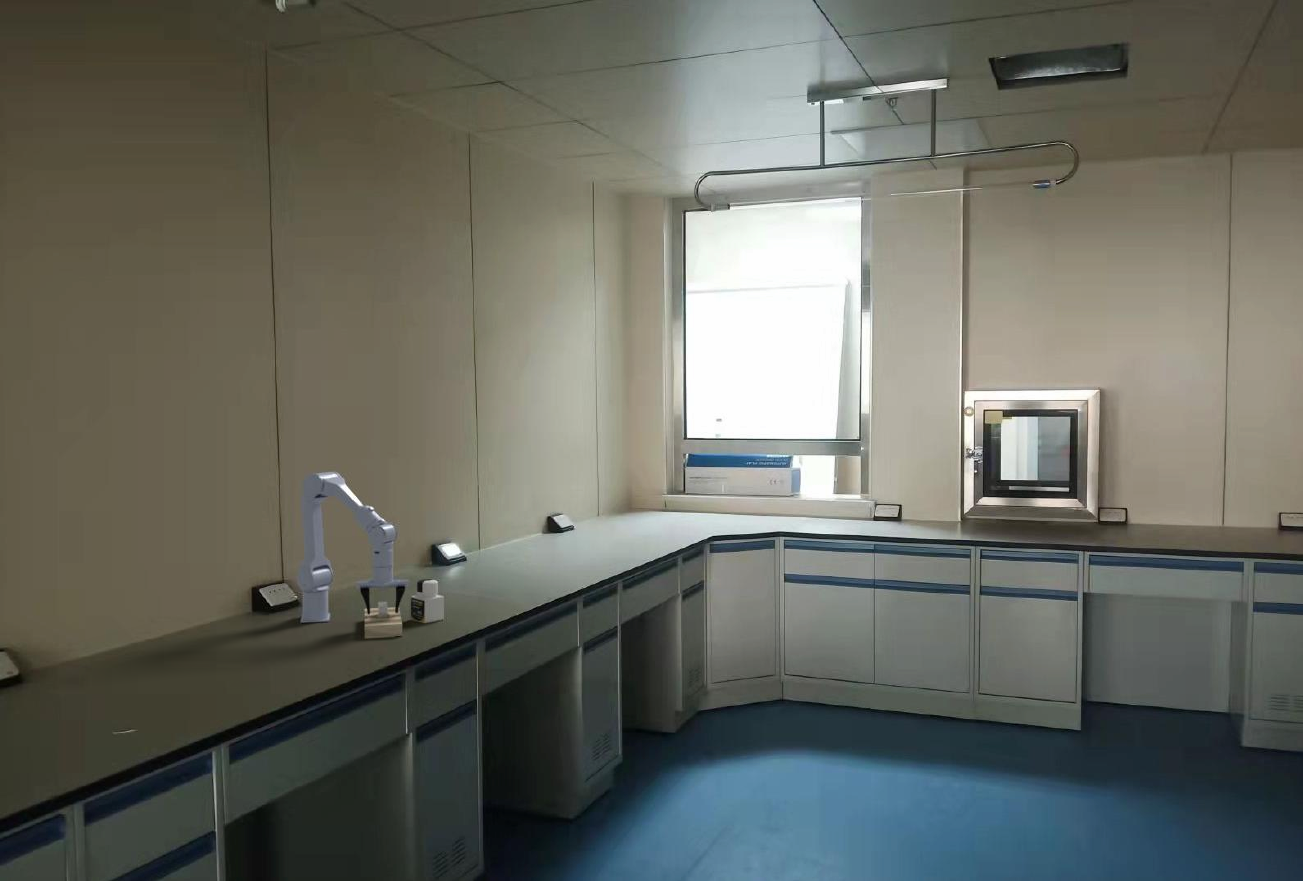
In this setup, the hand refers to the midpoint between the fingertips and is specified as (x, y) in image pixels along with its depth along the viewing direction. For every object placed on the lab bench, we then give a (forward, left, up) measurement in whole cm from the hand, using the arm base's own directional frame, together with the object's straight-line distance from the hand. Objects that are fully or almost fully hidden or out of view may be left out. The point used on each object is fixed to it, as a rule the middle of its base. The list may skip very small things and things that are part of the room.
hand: (382, 612), depth 288 cm
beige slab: (0, 0, -4) cm, 4 cm away
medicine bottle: (-8, +13, -5) cm, 16 cm away
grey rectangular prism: (0, 0, -4) cm, 5 cm away
